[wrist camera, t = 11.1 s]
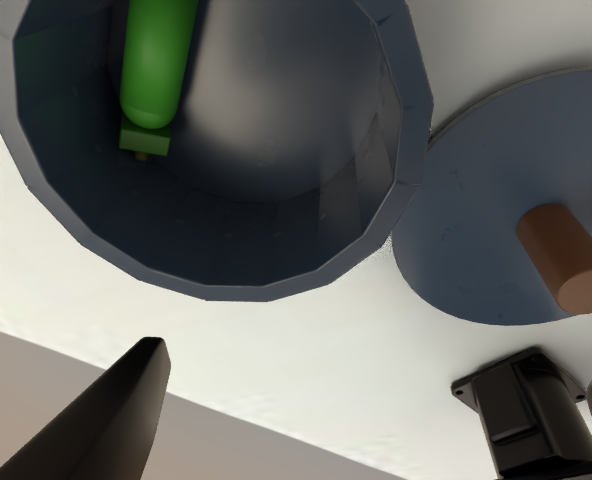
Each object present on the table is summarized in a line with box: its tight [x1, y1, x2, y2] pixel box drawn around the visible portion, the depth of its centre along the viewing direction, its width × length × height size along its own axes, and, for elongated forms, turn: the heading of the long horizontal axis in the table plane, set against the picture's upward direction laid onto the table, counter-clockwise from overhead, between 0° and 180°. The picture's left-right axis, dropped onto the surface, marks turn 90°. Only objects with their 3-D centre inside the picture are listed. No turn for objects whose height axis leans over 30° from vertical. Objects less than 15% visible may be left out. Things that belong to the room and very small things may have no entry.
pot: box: [0, 0, 434, 302], centre depth 15 cm, size 13×13×6 cm
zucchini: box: [119, 0, 199, 161], centre depth 16 cm, size 8×2×2 cm, turn 160°
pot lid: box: [391, 66, 592, 326], centre depth 18 cm, size 14×14×6 cm
